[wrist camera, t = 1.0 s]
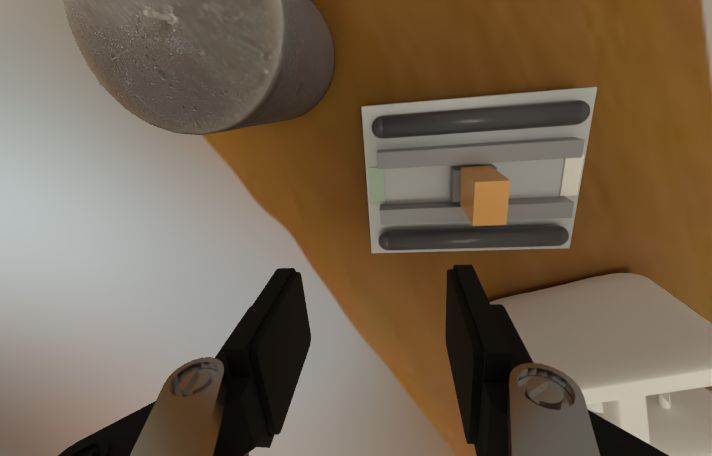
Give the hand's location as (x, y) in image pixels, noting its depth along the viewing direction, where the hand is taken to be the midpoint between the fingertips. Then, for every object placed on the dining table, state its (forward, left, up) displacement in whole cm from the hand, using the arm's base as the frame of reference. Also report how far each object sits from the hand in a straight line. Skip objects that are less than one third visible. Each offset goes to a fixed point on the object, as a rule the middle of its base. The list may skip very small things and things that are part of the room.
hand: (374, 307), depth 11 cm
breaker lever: (0, -6, -16) cm, 18 cm away
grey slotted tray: (0, -6, -19) cm, 20 cm away
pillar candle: (+10, +8, -20) cm, 24 cm away
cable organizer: (-16, -16, -20) cm, 30 cm away
